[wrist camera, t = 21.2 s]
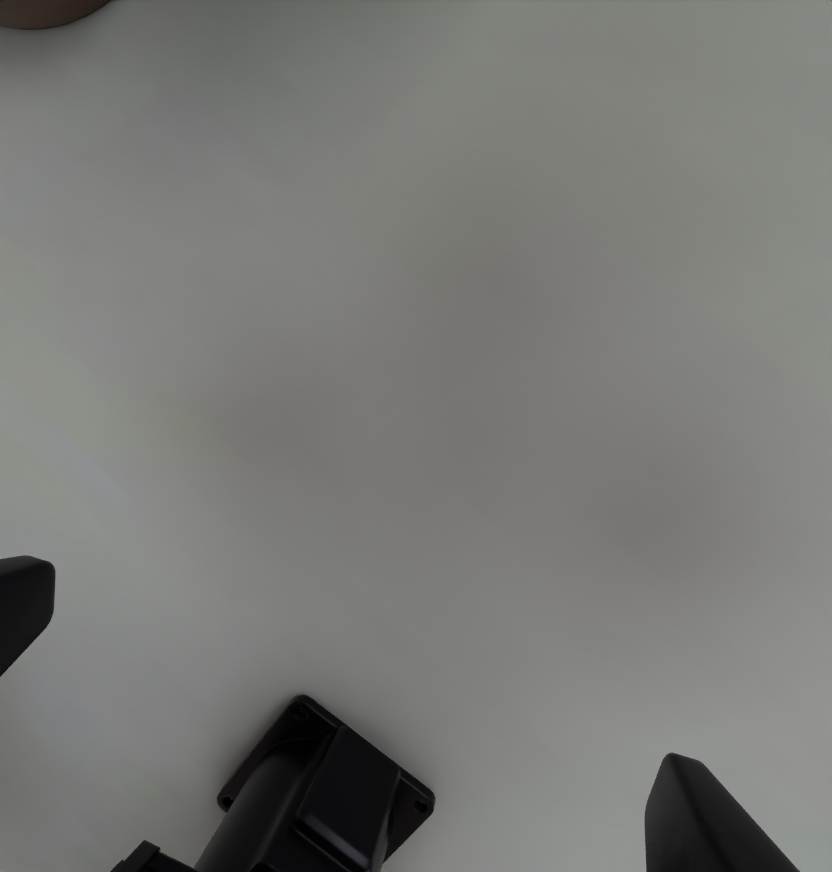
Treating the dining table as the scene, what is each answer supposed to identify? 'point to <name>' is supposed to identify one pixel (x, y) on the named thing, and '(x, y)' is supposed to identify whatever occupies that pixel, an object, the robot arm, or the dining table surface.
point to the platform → (44, 12)
